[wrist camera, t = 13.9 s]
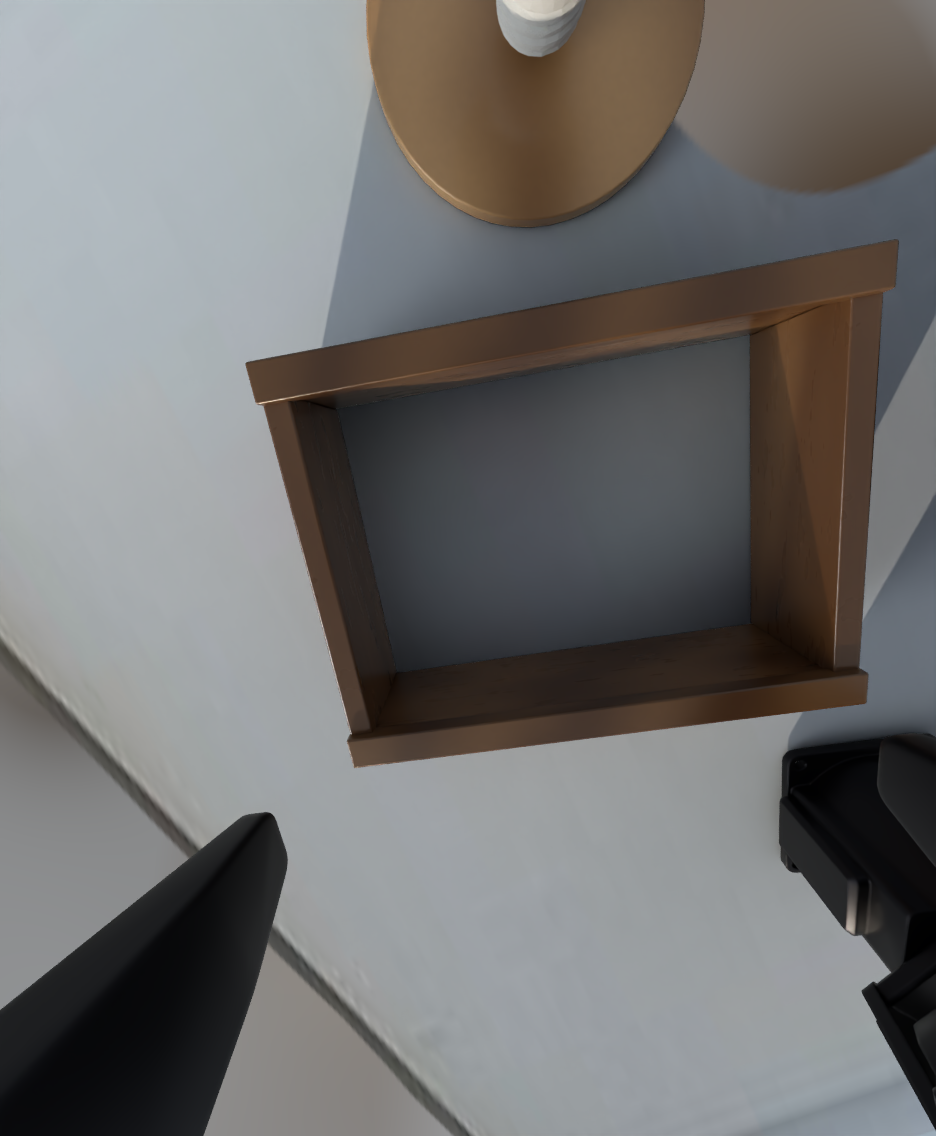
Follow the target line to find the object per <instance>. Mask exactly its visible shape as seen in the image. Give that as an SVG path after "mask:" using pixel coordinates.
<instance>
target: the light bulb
mask: <svg viewBox="0 0 936 1136" xmlns="http://www.w3.org/2000/svg"><path fill="white" fill-rule="evenodd" d="M585 2H586V0H496V6H497V15H498V21H499V25H500V27H501V30H502V32H503V35H504V37H505V38H506V40H507V41H508V42H509V44H510V45H511V46H512V47H513V48H515V49H516V50H517V51H518V52H520V53H522V54H525V55H527V56H537V57H542V56H545V55H548V54H550V53H553V52H555V51H557V50H558V49H559V48H561V47H562V46H563V45H564V44H565V43H566V42H567V41H568V39H569V37H570V36H571V34H572V33H573V31H574V30H575V28H576V25H577V22H578V20H579V18H580V16H581V14H582V11H583V8H584V5H585Z"/></svg>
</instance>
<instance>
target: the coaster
mask: <svg viewBox="0 0 936 1136" xmlns="http://www.w3.org/2000/svg"><path fill="white" fill-rule="evenodd" d="M704 6H705V0H586V2H585V5H584V8H583V11H582V14H581V16H580V18H579V20H578V22H577V25H576V28H575V30H574V31H573V33H572V34H571V36H570V37H569V39H568V41H567V42H566V43H565V44H564V45H563V46H562V47H561V48H559V49H558V50H557V51H555V52H553V53H550V54H548V55H545V56H542V57H537V56H527V55H525V54H522V53H520V52H518V51H517V50H516V49H515V48H513V47H512V46H511V45H510V44H509V42H508V41H507V40H506V38H505V37H504V35H503V32H502V30H501V27H500V25H499V21H498V15H497V6H496V0H367V5H366V15H367V40H368V48H369V56H370V64H371V68H372V72H373V77H374V81H375V85H376V89H377V93H378V96H379V100H380V103H381V106H382V108H383V111H384V114H385V117H386V120H387V123H388V125H389V127H390V129H391V131H392V133H393V135H394V138H395V140H396V142H397V144H398V146H399V147H400V149H401V150H402V152H403V154H404V155H405V157H406V158H407V160H408V162H409V163H410V164H411V166H412V167H413V168H414V169H415V171H416V172H417V173H418V174H419V176H420V177H421V178H422V179H423V180H424V181H425V182H426V183H427V184H428V185H429V186H430V187H431V188H432V189H433V190H434V191H435V192H436V193H437V194H438V195H439V196H441V197H442V198H443V199H445V200H446V201H448V202H449V203H450V204H452V205H453V206H455V207H456V208H458V209H460V210H462V211H464V212H466V213H468V214H469V215H471V216H473V217H476V218H479V219H482V220H485V221H488V222H490V223H494V224H499V225H505V226H511V227H537V226H545V225H552V224H555V223H559V222H563V221H566V220H570V219H572V218H574V217H577V216H579V215H581V214H584V213H586V212H588V211H590V210H592V209H593V208H595V207H597V206H598V205H600V204H601V203H603V202H605V201H606V200H608V199H609V198H610V197H612V196H613V195H614V194H615V193H617V192H618V191H619V190H620V189H621V188H623V187H624V186H625V185H626V184H627V183H628V182H629V181H630V180H631V179H632V178H633V177H634V176H635V175H636V174H637V173H638V172H639V171H640V170H641V168H642V167H643V166H644V164H645V163H646V162H647V160H648V159H649V158H650V157H651V155H652V154H653V153H654V151H655V150H656V148H657V147H658V145H659V143H660V142H661V140H662V138H663V137H664V135H665V133H666V132H667V130H668V128H669V127H670V125H671V123H672V122H673V120H674V118H675V116H676V114H677V111H678V109H679V107H680V105H681V103H682V101H683V99H684V97H685V94H686V91H687V88H688V86H689V83H690V80H691V77H692V74H693V71H694V68H695V63H696V59H697V55H698V51H699V47H700V42H701V34H702V27H703V19H704V8H705V7H704Z"/></svg>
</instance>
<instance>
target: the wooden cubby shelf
mask: <svg viewBox="0 0 936 1136" xmlns="http://www.w3.org/2000/svg"><path fill="white" fill-rule="evenodd" d="M898 245H899V241H898V240H897V239H894V240H889V241H883V242H878V243H873V244H868V245H862V246H857V247H852V248H846V249H841V250H836V251H831V252H825V253H820V254H815V255H809V256H804V257H799V258H794V259H788V260H783V261H778V262H773V263H767V264H762V265H757V266H751V267H746V268H741V269H736V270H730V271H725V272H720V273H714V274H709V275H704V276H699V277H693V278H688V279H683V280H677V281H672V282H667V283H662V284H656V285H651V286H646V287H640V288H635V289H630V290H625V291H619V292H614V293H609V294H604V295H598V296H593V297H588V298H582V299H577V300H572V301H567V302H561V303H556V304H551V305H545V306H540V307H535V308H530V309H524V310H519V311H514V312H508V313H503V314H498V315H493V316H487V317H482V318H477V319H471V320H466V321H461V322H456V323H450V324H445V325H440V326H435V327H429V328H424V329H419V330H413V331H408V332H403V333H398V334H392V335H387V336H382V337H376V338H371V339H366V340H361V341H355V342H350V343H345V344H339V345H334V346H329V347H324V348H318V349H313V350H308V351H302V352H297V353H292V354H287V355H281V356H276V357H271V358H266V359H260V360H255V361H250V362H247V363H246V368H247V372H248V376H249V380H250V383H251V387H252V391H253V394H254V398H255V402H256V404H258V405H262V406H264V410H265V413H266V417H267V421H268V425H269V428H270V432H271V436H272V440H273V443H274V447H275V451H276V455H277V459H278V462H279V466H280V470H281V474H282V477H283V481H284V485H285V489H286V493H287V496H288V500H289V504H290V508H291V511H292V515H293V519H294V523H295V526H296V530H297V534H298V538H299V542H300V545H301V549H302V553H303V557H304V560H305V564H306V568H307V572H308V575H309V579H310V583H311V587H312V591H313V594H314V598H315V602H316V606H317V609H318V613H319V617H320V621H321V624H322V628H323V632H324V636H325V640H326V643H327V647H328V651H329V655H330V658H331V662H332V666H333V670H334V673H335V677H336V681H337V685H338V689H339V692H340V696H341V700H342V704H343V707H344V711H345V715H346V719H347V722H348V726H349V730H350V736H349V738H348V740H347V744H348V748H349V751H350V755H351V759H352V763H353V766H354V768H359V767H367V766H375V765H383V764H391V763H399V762H407V761H414V760H422V759H430V758H438V757H446V756H454V755H462V754H470V753H478V752H486V751H494V750H502V749H510V748H518V747H526V746H533V745H541V744H549V743H557V742H565V741H573V740H581V739H589V738H597V737H605V736H613V735H621V734H629V733H637V732H645V731H652V730H660V729H668V728H676V727H684V726H692V725H700V724H708V723H716V722H724V721H732V720H740V719H748V718H756V717H763V716H771V715H779V714H787V713H795V712H803V711H811V710H819V709H827V708H835V707H843V706H851V705H859V704H865V703H866V702H867V689H868V673H867V672H865V671H863V670H862V669H860V668H859V664H860V648H861V633H862V617H863V601H864V586H865V570H866V554H867V538H868V523H869V507H870V491H871V476H872V460H873V444H874V429H875V413H876V397H877V381H878V366H879V350H880V334H881V319H882V303H883V292H886V291H889V290H891V289H893V288H894V287H895V285H896V274H897V259H898ZM751 334H752V335H751ZM746 335H750V492H751V623H752V624H745V625H738V626H730V627H723V628H716V629H709V630H702V631H694V632H687V633H680V634H673V635H666V636H659V637H651V638H644V639H637V640H630V641H623V642H616V643H608V644H601V645H594V646H587V647H580V648H572V649H565V650H558V651H551V652H544V653H537V654H529V655H522V656H515V657H508V658H501V659H493V660H486V661H479V662H472V663H465V664H458V665H450V666H443V667H436V668H429V669H422V670H415V671H407V672H400V673H396V667H395V663H394V659H393V654H392V650H391V645H390V641H389V636H388V632H387V628H386V623H385V619H384V614H383V610H382V605H381V601H380V597H379V592H378V588H377V583H376V579H375V575H374V570H373V566H372V561H371V557H370V552H369V548H368V544H367V539H366V535H365V530H364V526H363V521H362V517H361V513H360V508H359V504H358V499H357V495H356V491H355V486H354V482H353V477H352V473H351V468H350V464H349V460H348V455H347V451H346V446H345V442H344V437H343V433H342V429H341V424H340V420H339V415H338V411H337V410H335V409H340V408H345V407H351V406H356V405H362V404H367V403H373V402H379V401H384V400H390V399H395V398H401V397H406V396H412V395H418V394H423V393H429V392H434V391H440V390H445V389H451V388H456V387H462V386H468V385H473V384H479V383H484V382H490V381H495V380H501V379H506V378H512V377H518V376H523V375H529V374H534V373H540V372H545V371H551V370H557V369H562V368H568V367H573V366H579V365H584V364H590V363H595V362H601V361H607V360H612V359H618V358H623V357H629V356H634V355H640V354H646V353H651V352H657V351H662V350H668V349H673V348H679V347H684V346H690V345H696V344H701V343H707V342H712V341H718V340H723V339H729V338H734V337H740V336H746Z"/></svg>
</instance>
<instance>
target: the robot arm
mask: <svg viewBox="0 0 936 1136" xmlns="http://www.w3.org/2000/svg"><path fill="white" fill-rule="evenodd" d="M797 761H798V762H797ZM796 762H797V763H796ZM779 844H780V846H781V861H782V862H783V864H784V865H785V866H786V868H787V869H788V870H789V871H791V872H795V873H798V872H801V873H802V874H803V876H804V877H805V878H806V880H807V881H808V882H809V884H810V885H811V886H812V888H813V889H814V890H815V892H816V893H817V894H818V896H819V897H820V898H821V899H822V901H823V902H824V903H825V905H826V906H827V907H828V909H829V910H830V911H831V913H832V914H833V915H834V917H835V918H836V919H837V920H838V922H839V923H840V924H841V926H842V927H843V928H844V929H845V930H846V931H847V932H849V933H850V934H851V935H853V936H858V935H862V936H863V937H864V938H865V940H866V941H867V942H868V944H869V945H870V946H871V947H872V949H873V950H874V951H875V952H876V954H877V955H878V956H879V958H880V959H881V960H882V961H883V963H884V964H885V965H886V966H887V968H888V969H889V970H890V971H891V973H890V974H889V975H888V976H886V977H885V978H884V979H882V980H881V981H880V982H879V983H875V982H872V983H871V984H869V985H868V986H867V987H866V988H864V989H863V990H862V994H863V996H864V998H865V999H866V1001H867V1003H868V1005H869V1007H870V1008H871V1010H872V1012H873V1014H874V1016H875V1018H876V1019H877V1020H876V1022H877V1025H878V1026H879V1028H880V1030H881V1032H882V1034H883V1035H884V1037H885V1039H886V1041H887V1043H888V1045H889V1046H890V1048H891V1050H892V1052H893V1054H894V1055H895V1057H896V1059H897V1061H898V1063H899V1065H900V1066H901V1068H902V1070H903V1072H904V1074H905V1075H906V1077H907V1079H908V1081H909V1083H910V1085H911V1086H912V1088H913V1090H914V1092H915V1094H916V1095H917V1097H918V1099H919V1101H920V1103H921V1105H922V1106H923V1108H924V1110H925V1112H926V1114H927V1115H928V1117H929V1119H930V1121H931V1123H932V1125H933V1126H934V1128H935V1130H936V737H935V736H933V735H931V734H917V733H910V734H902V735H894V736H888V737H886V738H884V739H876V740H867V741H859V742H851V743H842V744H834V745H826V746H818V747H809V748H801V749H794V750H790V751H788V752H787V753H786V754H785V755H784V756H783V760H782V798H781V800H780V815H779ZM287 863H288V858H287V852H286V849H285V846H284V843H283V840H282V837H281V834H280V831H279V828H278V825H277V822H276V819H275V817H274V816H273V815H272V814H271V813H268V812H263V813H255V814H248V815H245V816H242V817H241V818H240V819H238V820H237V821H236V822H235V823H233V824H232V825H231V826H230V827H228V828H227V829H226V830H225V831H223V832H222V833H221V834H220V835H218V836H217V837H216V838H215V839H213V840H212V841H211V842H210V843H208V844H207V845H206V846H205V847H203V848H202V849H201V850H200V851H198V852H197V853H196V854H195V855H193V856H192V857H191V858H190V859H188V860H187V861H186V862H185V863H183V864H182V865H181V866H180V867H178V868H177V869H176V870H175V871H173V872H172V873H171V874H170V875H168V876H167V877H166V878H165V879H163V880H162V881H161V882H160V883H158V884H157V885H156V886H155V887H153V888H152V889H151V890H150V891H148V892H147V893H146V894H145V895H143V896H142V897H141V898H140V899H138V900H137V901H136V902H135V903H133V904H132V905H131V906H130V907H128V908H127V909H126V910H125V911H123V912H122V913H121V914H120V915H118V916H117V917H116V918H115V919H113V920H112V921H111V922H110V923H108V924H107V925H106V926H105V927H103V928H102V929H101V930H100V931H98V932H97V933H96V934H95V935H93V936H92V937H91V938H90V939H88V940H87V941H86V942H85V943H83V944H82V945H81V946H80V947H78V948H77V949H76V950H75V951H73V952H72V953H71V954H70V955H68V956H67V957H66V958H65V959H63V960H62V961H61V962H60V963H59V964H58V965H56V966H55V967H53V968H52V969H51V970H50V971H49V972H47V973H46V974H45V975H43V976H42V977H41V978H40V979H38V980H37V981H36V982H35V983H33V984H32V985H31V986H30V987H28V988H27V989H26V990H25V991H23V992H22V993H21V994H20V995H18V996H17V997H16V998H15V999H13V1000H12V1001H11V1002H10V1003H8V1004H7V1005H6V1006H5V1007H4V1008H2V1009H1V1010H0V1136H203V1135H204V1133H205V1130H206V1127H207V1124H208V1121H209V1119H210V1115H211V1113H212V1110H213V1107H214V1104H215V1102H216V1099H217V1096H218V1093H219V1090H220V1088H221V1085H222V1082H223V1079H224V1076H225V1073H226V1070H227V1068H228V1065H229V1062H230V1059H231V1056H232V1054H233V1051H234V1048H235V1045H236V1042H237V1039H238V1037H239V1034H240V1031H241V1028H242V1025H243V1022H244V1020H245V1017H246V1014H247V1011H248V1008H249V1005H250V1002H251V999H252V996H253V993H254V990H255V986H256V983H257V979H258V976H259V972H260V969H261V965H262V961H263V957H264V954H265V950H266V947H267V943H268V939H269V935H270V932H271V928H272V924H273V920H274V917H275V913H276V909H277V905H278V901H279V898H280V894H281V890H282V886H283V883H284V879H285V875H286V871H287Z"/></svg>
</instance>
